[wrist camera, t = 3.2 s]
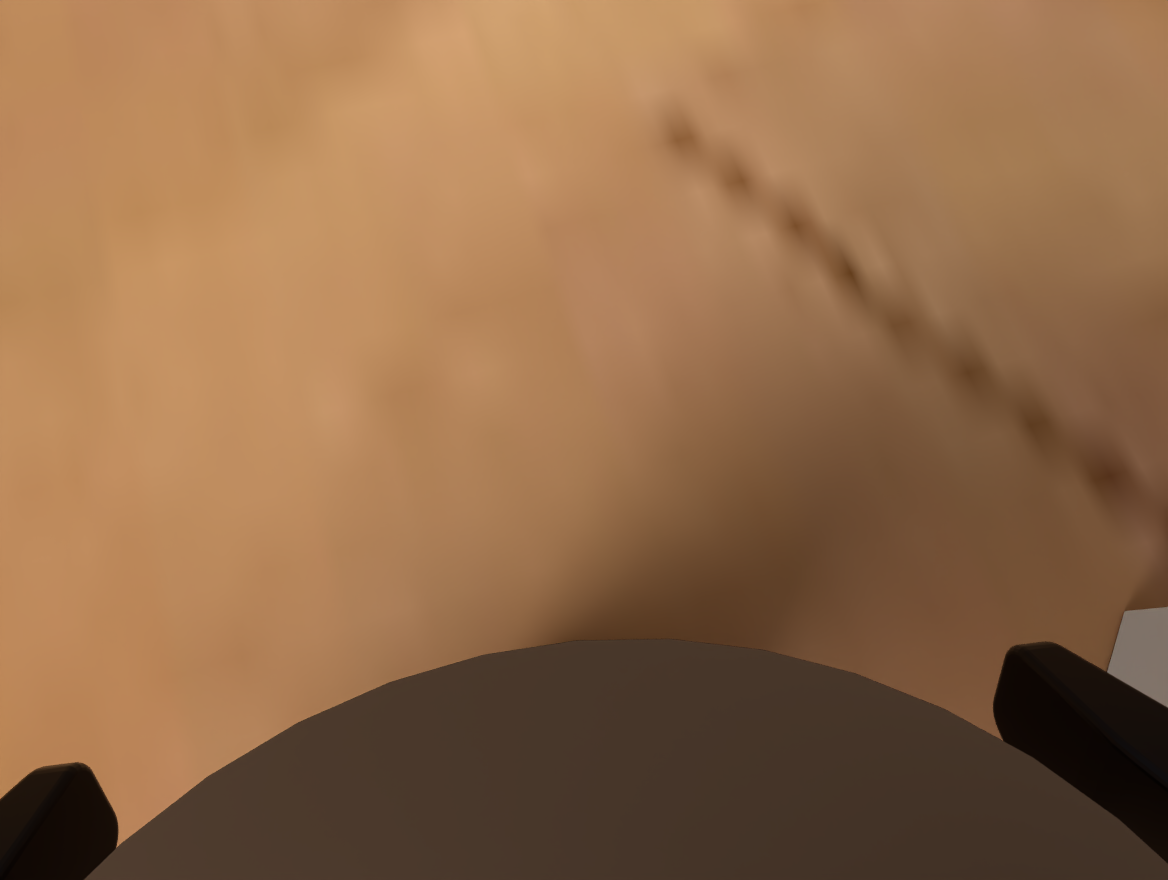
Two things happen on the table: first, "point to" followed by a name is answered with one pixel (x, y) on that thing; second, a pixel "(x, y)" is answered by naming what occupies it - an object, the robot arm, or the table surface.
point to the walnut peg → (634, 782)
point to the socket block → (1143, 652)
